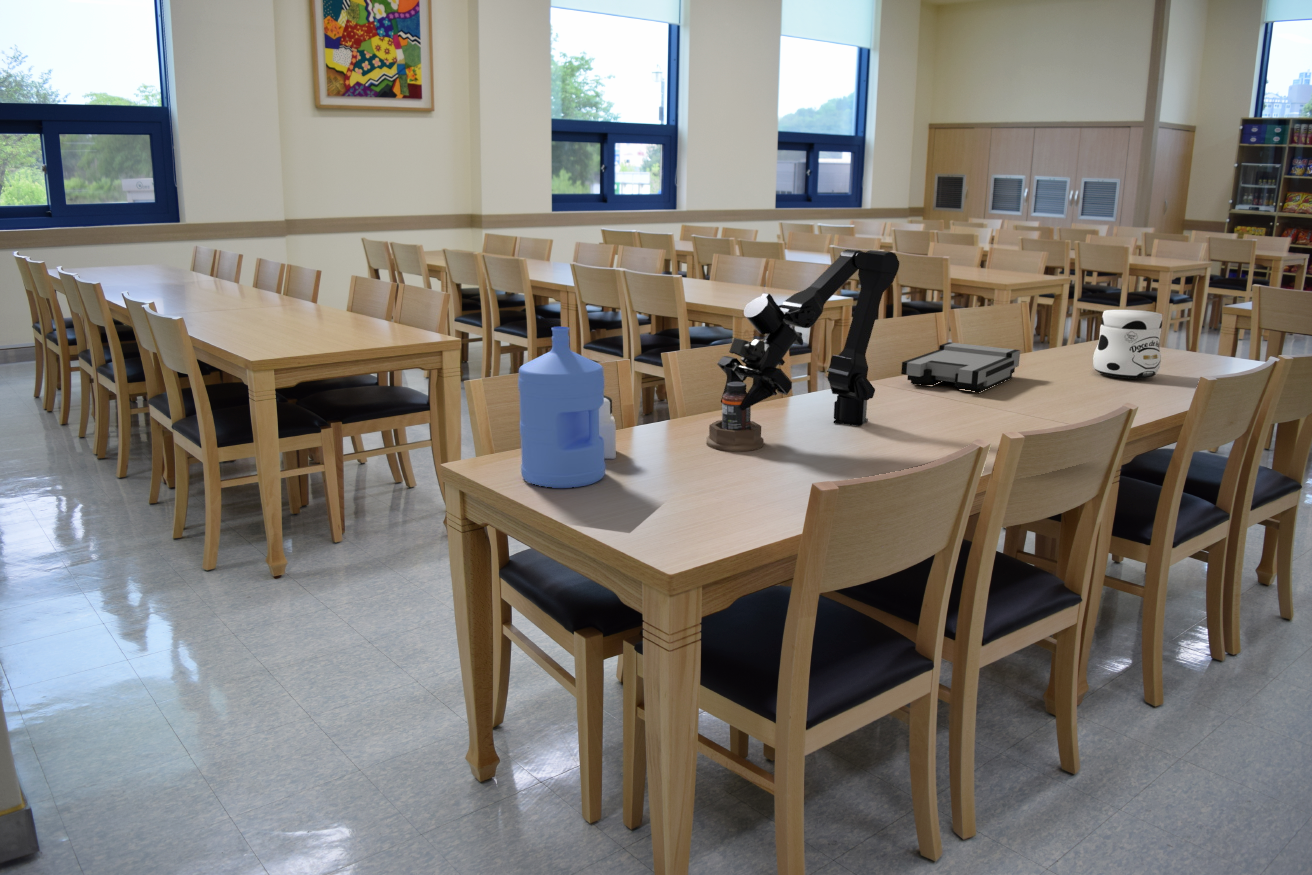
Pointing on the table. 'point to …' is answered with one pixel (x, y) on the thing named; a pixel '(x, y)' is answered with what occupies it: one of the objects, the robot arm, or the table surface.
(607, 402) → the medicine bottle
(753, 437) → the ring
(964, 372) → the game console
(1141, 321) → the cow print jar
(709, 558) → the table surface
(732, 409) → the supplement bottle
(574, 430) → the water jug
